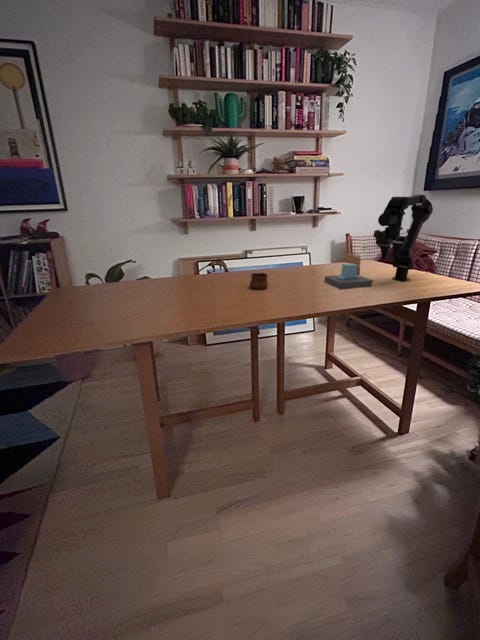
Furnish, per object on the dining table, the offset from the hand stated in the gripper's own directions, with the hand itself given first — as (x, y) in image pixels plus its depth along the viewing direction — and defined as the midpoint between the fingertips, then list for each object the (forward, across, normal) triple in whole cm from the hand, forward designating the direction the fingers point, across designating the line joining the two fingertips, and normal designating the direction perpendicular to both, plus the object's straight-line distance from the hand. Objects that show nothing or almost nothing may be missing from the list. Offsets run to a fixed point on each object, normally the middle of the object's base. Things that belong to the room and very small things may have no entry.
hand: (388, 258), depth 155 cm
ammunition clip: (+13, -4, -22) cm, 26 cm away
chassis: (+13, +15, -11) cm, 23 cm away
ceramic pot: (+14, +56, -32) cm, 66 cm away
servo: (+13, +15, -11) cm, 23 cm away
